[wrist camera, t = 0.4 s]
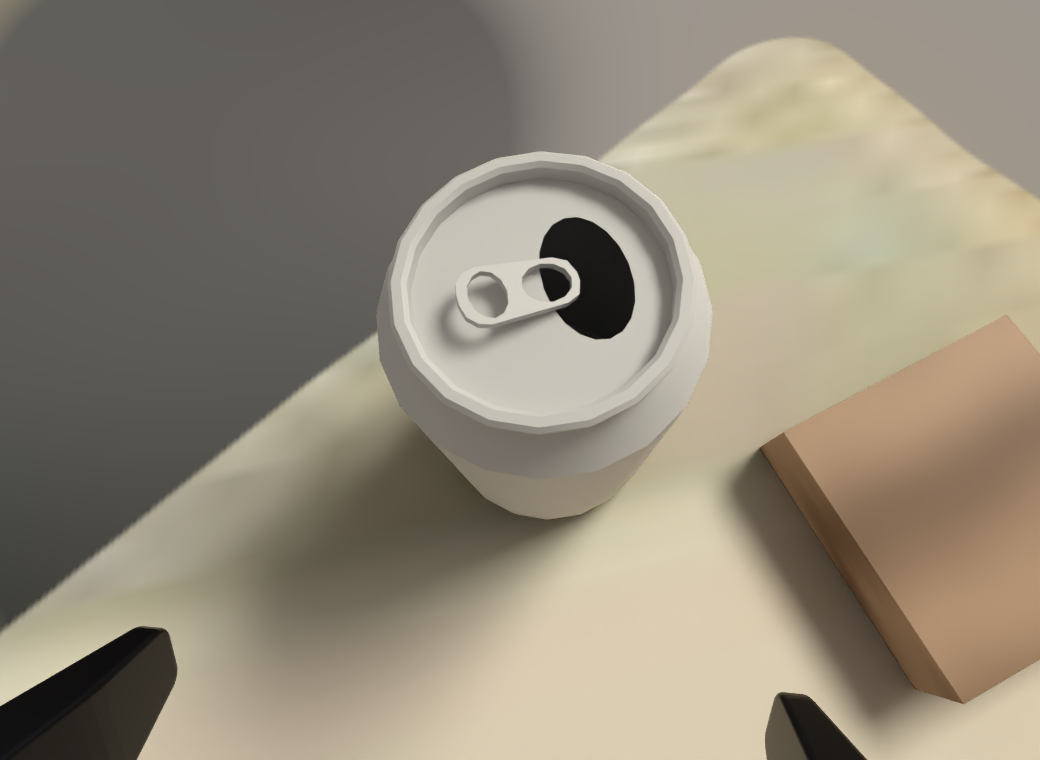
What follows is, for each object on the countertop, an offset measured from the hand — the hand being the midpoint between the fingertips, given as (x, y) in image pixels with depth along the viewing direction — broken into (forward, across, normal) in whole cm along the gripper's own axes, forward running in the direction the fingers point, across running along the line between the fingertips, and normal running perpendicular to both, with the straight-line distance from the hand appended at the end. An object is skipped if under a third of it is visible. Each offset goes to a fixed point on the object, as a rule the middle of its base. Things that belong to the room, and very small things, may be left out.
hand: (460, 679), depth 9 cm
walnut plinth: (+13, -15, +4) cm, 20 cm away
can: (+15, -1, +3) cm, 15 cm away
